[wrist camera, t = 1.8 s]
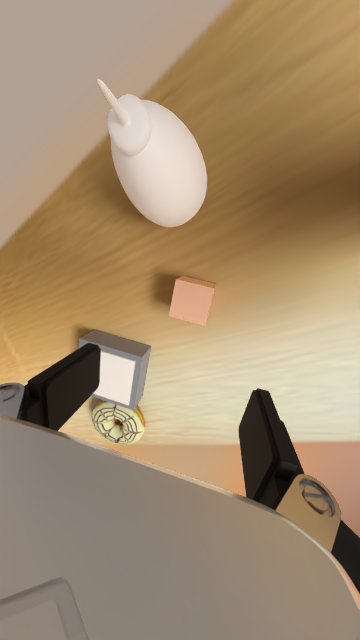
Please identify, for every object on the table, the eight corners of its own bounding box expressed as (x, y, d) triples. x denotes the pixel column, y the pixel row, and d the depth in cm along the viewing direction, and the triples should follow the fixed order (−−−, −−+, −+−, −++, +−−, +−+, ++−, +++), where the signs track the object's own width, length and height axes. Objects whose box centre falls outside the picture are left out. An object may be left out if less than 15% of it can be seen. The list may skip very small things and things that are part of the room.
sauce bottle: (221, 206, 24) (224, 84, 7) (173, 244, 27) (95, 219, 10) (187, 149, 23) (99, -147, 6) (141, 195, 26) (-9, 73, 9)
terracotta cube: (183, 275, 28) (175, 279, 23) (215, 283, 27) (215, 288, 23) (176, 307, 30) (168, 316, 25) (207, 315, 29) (204, 325, 24)
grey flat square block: (94, 329, 34) (77, 338, 30) (151, 346, 33) (141, 358, 29) (91, 378, 38) (76, 392, 34) (142, 395, 36) (133, 411, 32)
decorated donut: (123, 439, 42) (114, 455, 38) (91, 404, 40) (79, 418, 37) (157, 422, 38) (150, 439, 35) (123, 384, 37) (113, 397, 33)
